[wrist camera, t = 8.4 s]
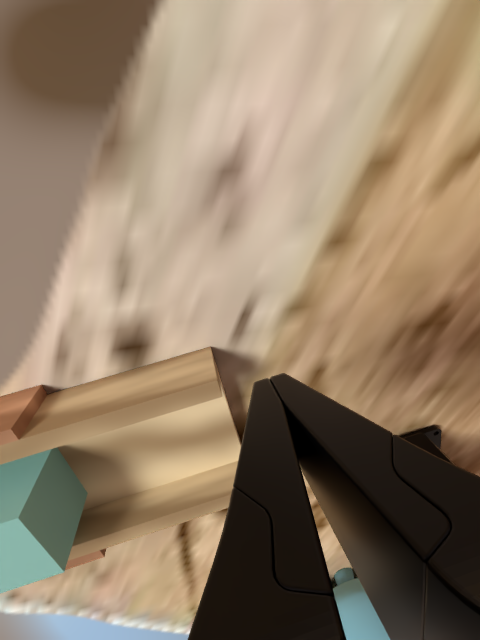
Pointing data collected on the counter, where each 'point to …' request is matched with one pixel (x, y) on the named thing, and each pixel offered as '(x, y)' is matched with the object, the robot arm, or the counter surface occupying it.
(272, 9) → the counter surface
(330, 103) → the counter surface
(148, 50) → the counter surface
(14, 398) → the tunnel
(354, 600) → the teapot
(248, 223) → the counter surface
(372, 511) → the robot arm
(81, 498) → the block
